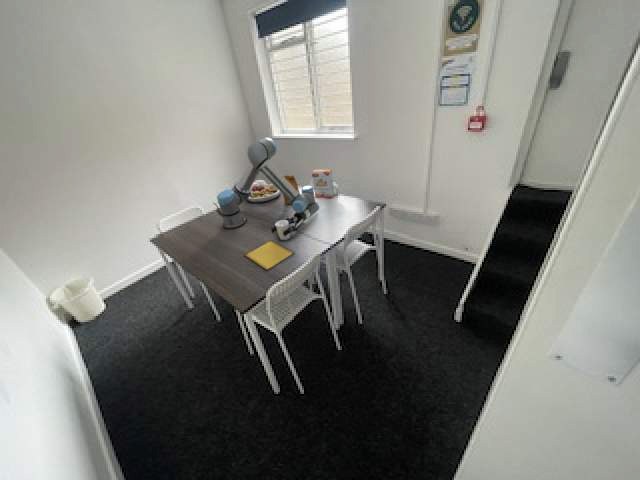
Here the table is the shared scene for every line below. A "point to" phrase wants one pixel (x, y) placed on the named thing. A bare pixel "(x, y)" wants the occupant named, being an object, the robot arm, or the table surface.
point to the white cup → (282, 229)
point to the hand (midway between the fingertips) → (278, 232)
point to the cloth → (269, 255)
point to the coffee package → (293, 183)
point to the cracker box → (323, 183)
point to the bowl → (263, 193)
